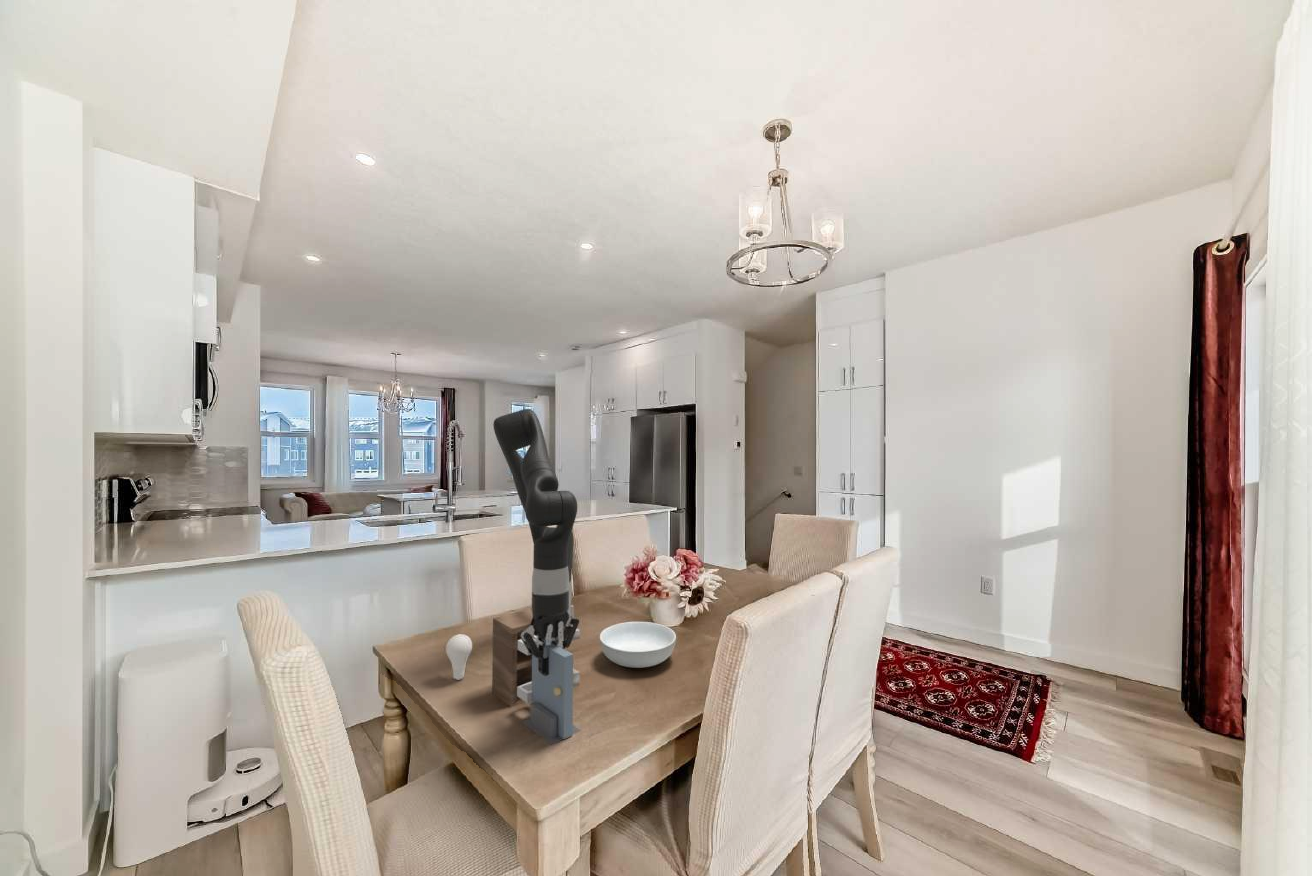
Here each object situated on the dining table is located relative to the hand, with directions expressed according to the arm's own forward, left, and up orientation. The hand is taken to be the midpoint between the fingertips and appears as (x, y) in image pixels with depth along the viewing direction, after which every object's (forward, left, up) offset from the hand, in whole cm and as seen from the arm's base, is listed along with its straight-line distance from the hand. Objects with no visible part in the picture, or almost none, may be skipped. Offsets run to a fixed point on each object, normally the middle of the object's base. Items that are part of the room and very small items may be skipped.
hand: (549, 672), depth 105 cm
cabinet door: (0, -1, -11) cm, 11 cm away
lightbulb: (+4, -34, -12) cm, 36 cm away
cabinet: (-6, -15, -12) cm, 20 cm away
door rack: (0, +1, -12) cm, 12 cm away
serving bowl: (-36, -12, -12) cm, 40 cm away
